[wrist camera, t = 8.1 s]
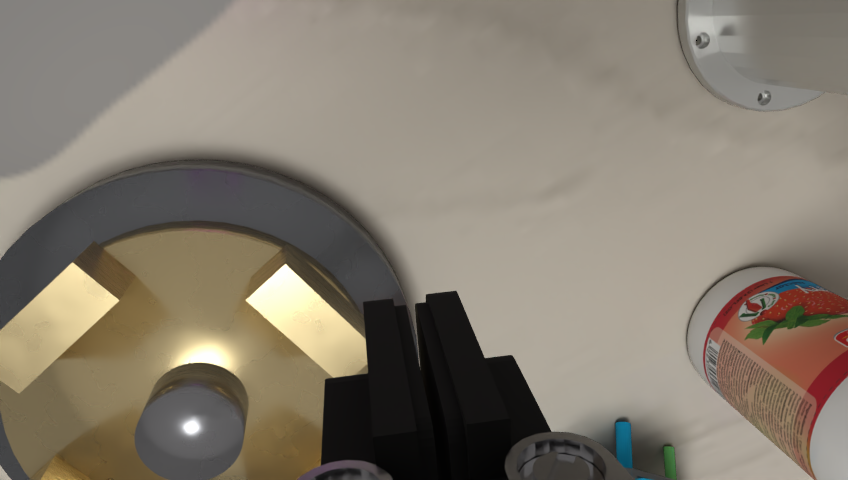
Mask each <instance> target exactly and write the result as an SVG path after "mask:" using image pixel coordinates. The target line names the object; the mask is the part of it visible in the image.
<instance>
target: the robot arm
mask: <svg viewBox="0 0 848 480" xmlns="http://www.w3.org/2000/svg"><path fill="white" fill-rule="evenodd" d="M678 29H679V35H680V40H681V44H682V49H683V52H684V54H685V57H686V59H687V61H688V64H689V66H690V68H691V70H692V71H693V73H694V74H695V76H696V77H697V78H698V80H699V81H700V83H701V84H702V85H703V86H704V87H705V88H706V89H708V90H709V91H710V92H711V93H712V94H713V95H714V96H716V97H717V98H719V99H721V100H723V101H725V102H727V103H728V104H730V105H734V106H737V107H741V108H745V109H749V110H755V111H763V112H766V111H782V110H786V109H790V108H794V107H797V106H801V105H803V104H805V103H807V102H809V101H811V100H813V99H815V98H818V97H819V96H821V95H822V94H823V93H825V92H830V93H838V94H846V95H848V0H679V3H678ZM696 38H697V43H696ZM363 310H364V324H365V337H366V351H367V365H368V373H366V374H358V375H350V376H342V377H335V378H327V379H325V387H324V408H323V429H322V450H321V466H319V467H316V468H314V469H312V470H310V471H309V472H307V473H305V474H304V475H302V476H300V477H299V478H298V479H297V480H635V479H634V478H633V477H632V476H631V475H630V474H629V473H628V471H627V470H626V469H625V468H624V467H623V466H622V465H621V464H620V462H619V461H618V460H617V459H616V458H615V457H614V456H613V454H612V453H611V452H609V451H608V450H607V449H606V448H605V447H604V446H602V445H601V444H600V443H598V442H596V441H594V440H592V439H590V438H588V437H585V436H581V435H577V434H573V433H568V432H551V430H550V428H549V426H548V424H547V422H546V420H545V418H544V416H543V414H542V412H541V410H540V408H539V406H538V404H537V402H536V400H535V398H534V396H533V394H532V392H531V390H530V388H529V386H528V384H527V382H526V380H525V378H524V376H523V374H522V372H521V370H520V369H519V367H518V365H517V363H516V361H515V359H514V357H513V356H511V355H508V356H500V357H492V358H484V355H483V353H482V351H481V348H480V346H479V343H478V341H477V339H476V336H475V334H474V331H473V329H472V327H471V324H470V322H469V319H468V317H467V315H466V312H465V310H464V307H463V305H462V303H461V300H460V298H459V296H458V293H457V291H451V292H442V293H434V294H426V302H425V303H417V304H415V311H416V323H417V335H418V346H419V358H420V366H419V361H418V357H417V352H416V348H415V343H414V339H413V334H412V330H411V325H410V321H409V316H408V312H407V307H406V305H400V306H394V301H393V298H391V299H383V300H374V301H366V302H363ZM420 369H421V370H420Z"/></svg>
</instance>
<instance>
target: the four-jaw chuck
mask: <svg viewBox="0 0 848 480" xmlns="http://www.w3.org/2000/svg"><path fill="white" fill-rule="evenodd" d="M366 373H368V365H367V351H366V337H365V324H364V316H363V315H362V314H361V312H360V310H359V308H358V306H357V304H356V303H355V301H354V300H353V298H352V297H351V295H350V294H349V292H348V291H347V290H346V288H345V287H344V286H343V285H342V284H341V283H340V282H339V281H338V279H337V278H336V277H335V276H334V275H333V274H332V273H331V272H330V271H329V270H328V269H326V268H325V267H324V266H323V265H322V264H321V263H319V262H318V261H317V260H316V259H315V258H313V257H312V256H310V255H309V254H307V253H305V252H304V251H302V250H301V249H299V248H298V247H296V246H294V245H292V244H290V243H288V242H286V241H284V240H282V239H280V238H278V237H276V236H273V235H271V234H268V233H265V232H262V231H259V230H256V229H253V228H250V227H245V226H240V225H235V224H230V223H225V222H214V221H201V220H196V221H173V222H167V223H161V224H155V225H149V226H145V227H142V228H139V229H135V230H132V231H128V232H125V233H123V234H120V235H118V236H116V237H113V238H111V239H109V240H107V241H104V242H102V243H100V244H97V243H96V242H95V241H93V242H92V243H91V244H90V245H89V246H88V247H87V248H86V249H85V250H84V251H83V252H82V253H81V254H80V255H79V256H78V257H77V258H75V259H74V260H73V261H72V262H71V263H70V264H69V265H68V266H67V267H66V268H65V269H63V270H62V271H61V272H60V273H59V274H58V275H57V276H56V277H55V278H54V279H53V280H52V281H51V282H50V283H49V284H48V285H47V286H46V287H45V288H44V289H43V290H42V291H41V292H39V293H38V294H37V295H36V296H35V297H34V298H33V299H32V300H31V301H30V302H29V303H28V304H27V305H26V306H25V307H24V308H23V309H21V310H20V311H19V312H18V313H17V314H16V315H15V316H14V317H13V318H12V319H11V320H10V321H9V322H8V323H7V324H6V325H5V326H3V327H2V328H1V329H0V412H1V416H2V421H3V425H4V430H5V433H6V436H7V438H8V441H9V443H10V446H11V448H12V451H13V453H14V455H15V457H16V458H17V460H18V462H19V463H20V465H21V467H22V469H23V470H24V472H25V473H26V474H27V476H28V477H29V478H30V479H28V480H297V479H298V478H299V477H300V476H302V475H304V474H305V473H307V472H309V471H310V470H312V469H314V468H316V467H319V466H321V450H322V429H323V408H324V387H325V379H327V378H335V377H342V376H350V375H358V374H366Z"/></svg>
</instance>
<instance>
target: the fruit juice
mask: <svg viewBox="0 0 848 480" xmlns="http://www.w3.org/2000/svg"><path fill="white" fill-rule="evenodd" d="M687 346H688V353H689V356H690V359H691V362H692V364H693V366H694V368H695V370H696V371H697V372H698V374H699V375H700V376H701V378H702V379H703V380H704V381H705V382H706V383H707V384H708V385H709V386H710V387H711V388H712V389H713V390H715V391H716V392H717V393H718V394H719V395H720V396H721V397H722V398H723V399H725V400H726V401H727V402H728V403H729V404H730V405H731V406H732V407H734V408H735V409H736V410H737V411H738V412H739V413H740V414H741V415H742V416H744V417H745V418H746V419H747V420H748V421H749V422H750V423H751V424H753V425H754V426H755V427H756V428H757V429H758V430H759V431H760V432H761V433H763V434H764V435H765V436H766V437H767V438H768V439H769V440H770V441H772V442H773V443H774V444H775V445H776V446H777V447H778V448H779V449H780V450H782V451H783V452H784V453H785V454H786V455H787V456H788V457H789V458H791V459H792V460H793V461H794V462H795V463H796V464H797V465H798V466H800V467H801V468H802V469H803V470H804V471H805V472H806V473H807V474H808V475H810V476H811V477H812V478H813V479H814V480H848V300H846V299H844V298H842V297H840V296H838V295H836V294H834V293H832V292H830V291H828V290H826V289H824V288H822V287H820V286H818V285H816V284H814V283H812V282H810V281H808V280H806V279H804V278H802V277H800V276H798V275H796V274H794V273H792V272H789V271H786V270H782V269H779V268H773V267H753V268H748V269H744V270H741V271H738V272H736V273H733V274H731V275H729V276H728V277H726V278H724V279H723V280H721V281H720V282H718V283H717V284H716V285H715V286H714V287H712V288H711V289H710V290H709V291H708V292H707V294H706V295H705V296H704V297H703V298H702V300H701V301H700V303H699V304H698V306H697V307H696V309H695V311H694V313H693V316H692V318H691V321H690V324H689V328H688V334H687Z"/></svg>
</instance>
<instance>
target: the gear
mask: <svg viewBox="0 0 848 480" xmlns="http://www.w3.org/2000/svg"><path fill="white" fill-rule="evenodd" d="M615 426H616V454H617V460H618V461H619V462H620V464H621V465H622V466H623V467H624V468H625V469H626V470H627V471H628V473H629V474H630V475H631V476H632V477H633V478H634V479H635V480H677V478H676V465H675V452H674V447H669V446H667V447H663V450H664V464H665V477H663V476H660V475H656V474H652V473H648V472H645V471H641V470H637V469H633V462H632V441H631V424H630V423H628V422H616V423H615Z"/></svg>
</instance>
